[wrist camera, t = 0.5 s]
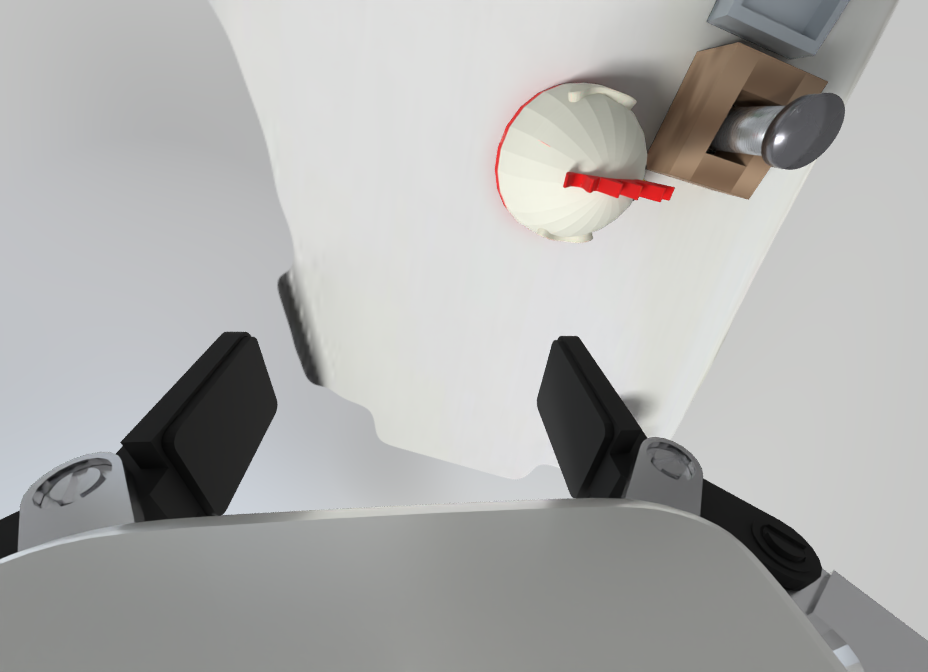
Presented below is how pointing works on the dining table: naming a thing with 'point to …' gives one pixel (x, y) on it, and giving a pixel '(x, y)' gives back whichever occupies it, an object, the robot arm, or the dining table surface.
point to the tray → (779, 23)
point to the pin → (783, 130)
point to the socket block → (723, 116)
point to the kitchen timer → (573, 161)
